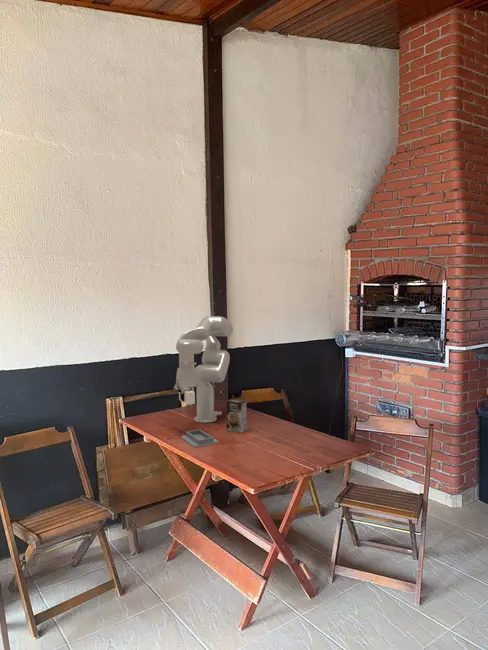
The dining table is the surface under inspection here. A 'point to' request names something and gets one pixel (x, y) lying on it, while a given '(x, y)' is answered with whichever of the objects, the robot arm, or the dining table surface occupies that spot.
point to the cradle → (198, 438)
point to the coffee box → (236, 415)
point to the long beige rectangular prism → (188, 396)
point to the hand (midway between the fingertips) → (186, 400)
